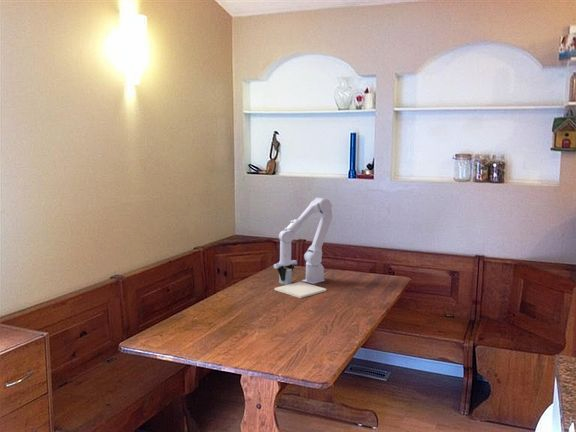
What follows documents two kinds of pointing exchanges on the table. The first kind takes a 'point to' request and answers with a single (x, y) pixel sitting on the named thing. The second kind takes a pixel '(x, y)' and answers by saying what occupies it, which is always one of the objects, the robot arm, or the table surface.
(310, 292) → the tile
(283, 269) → the robot arm
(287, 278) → the block
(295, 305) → the table surface
